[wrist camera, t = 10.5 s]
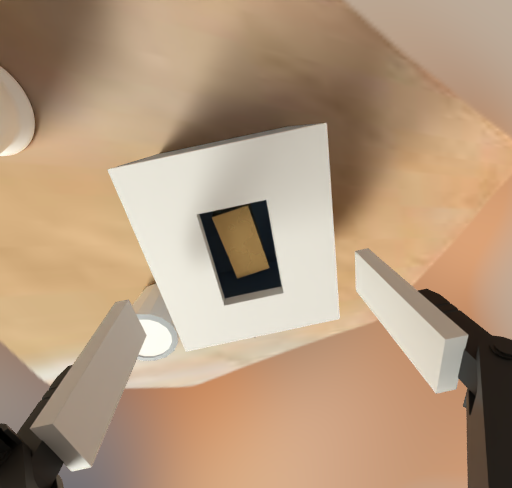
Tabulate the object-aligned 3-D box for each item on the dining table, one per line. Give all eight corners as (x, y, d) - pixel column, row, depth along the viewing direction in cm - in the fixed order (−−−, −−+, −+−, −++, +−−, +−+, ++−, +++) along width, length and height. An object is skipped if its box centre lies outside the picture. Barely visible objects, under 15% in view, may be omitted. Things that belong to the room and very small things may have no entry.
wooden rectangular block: (217, 192, 28) (211, 217, 20) (243, 183, 28) (247, 205, 20) (235, 238, 30) (237, 278, 22) (259, 231, 30) (269, 267, 22)
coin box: (158, 153, 27) (107, 169, 16) (287, 126, 27) (326, 122, 16) (201, 279, 33) (185, 351, 22) (304, 257, 33) (339, 318, 22)
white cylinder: (180, 275, 33) (168, 309, 26) (193, 316, 36) (184, 356, 29) (128, 283, 33) (102, 320, 26) (144, 324, 35) (125, 366, 29)
